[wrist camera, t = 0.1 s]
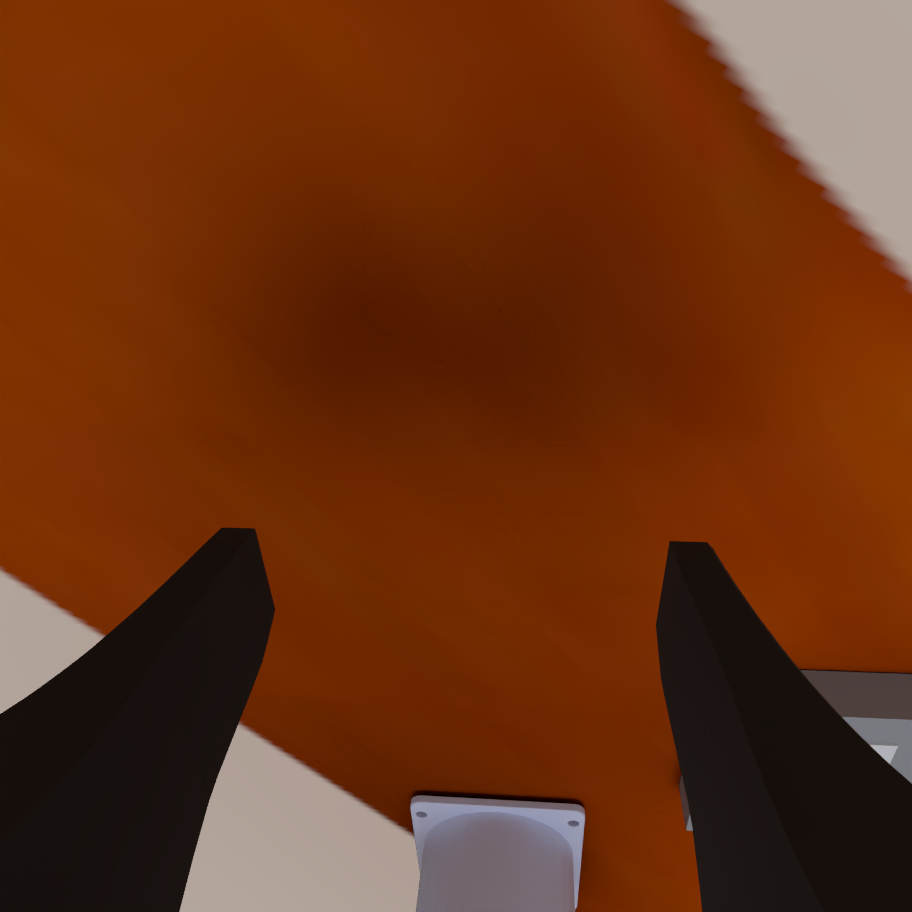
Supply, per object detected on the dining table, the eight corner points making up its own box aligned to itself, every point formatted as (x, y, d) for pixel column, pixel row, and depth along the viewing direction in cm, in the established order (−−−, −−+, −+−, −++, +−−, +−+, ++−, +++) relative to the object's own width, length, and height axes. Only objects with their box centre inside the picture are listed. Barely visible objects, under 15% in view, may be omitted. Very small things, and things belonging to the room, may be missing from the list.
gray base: (870, 795, 33) (888, 844, 31) (678, 785, 34) (686, 832, 32) (927, 674, 28) (952, 724, 27) (704, 666, 29) (714, 713, 28)
